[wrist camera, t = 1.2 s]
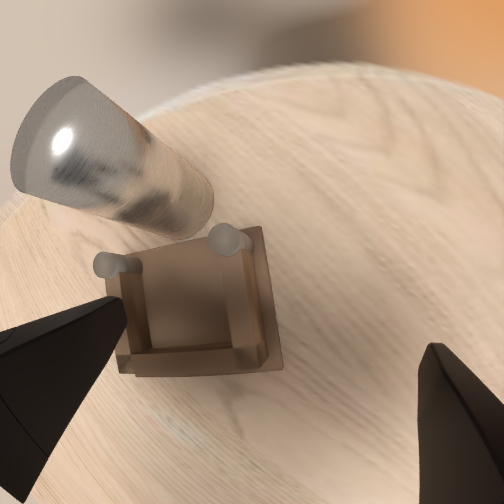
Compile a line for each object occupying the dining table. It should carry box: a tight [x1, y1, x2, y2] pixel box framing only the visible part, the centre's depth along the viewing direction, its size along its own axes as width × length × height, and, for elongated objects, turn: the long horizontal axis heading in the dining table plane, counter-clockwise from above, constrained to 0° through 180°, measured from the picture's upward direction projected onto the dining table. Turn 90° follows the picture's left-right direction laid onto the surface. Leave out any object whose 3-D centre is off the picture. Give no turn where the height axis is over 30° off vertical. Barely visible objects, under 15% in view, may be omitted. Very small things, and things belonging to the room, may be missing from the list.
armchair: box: [93, 223, 284, 377], centre depth 21 cm, size 10×12×5 cm
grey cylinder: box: [10, 76, 214, 239], centre depth 17 cm, size 6×6×14 cm
